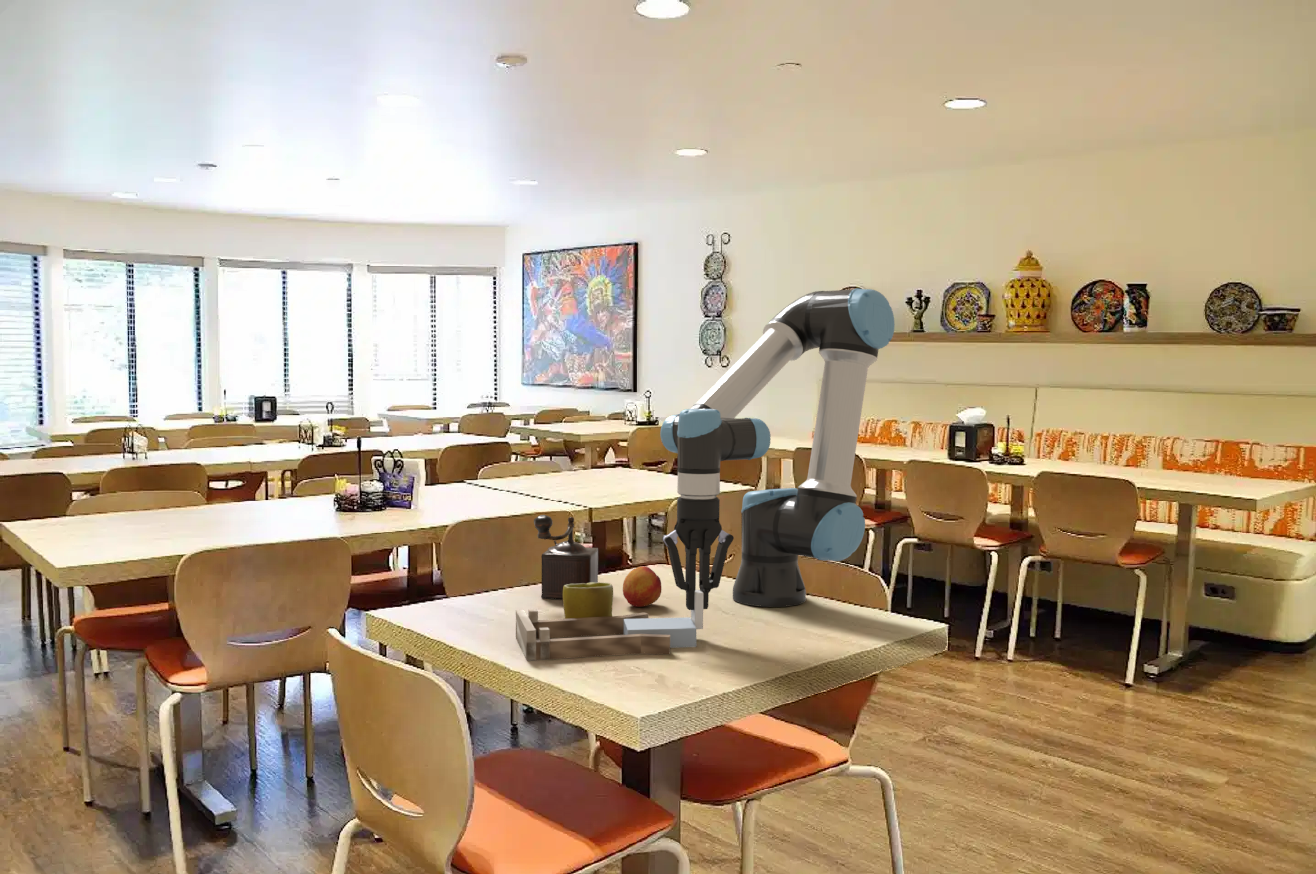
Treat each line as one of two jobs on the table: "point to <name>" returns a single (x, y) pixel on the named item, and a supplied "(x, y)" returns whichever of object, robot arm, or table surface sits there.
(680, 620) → the pale blue block
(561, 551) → the manual coffee grinder
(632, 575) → the fruit
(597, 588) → the mug
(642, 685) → the table surface
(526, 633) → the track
